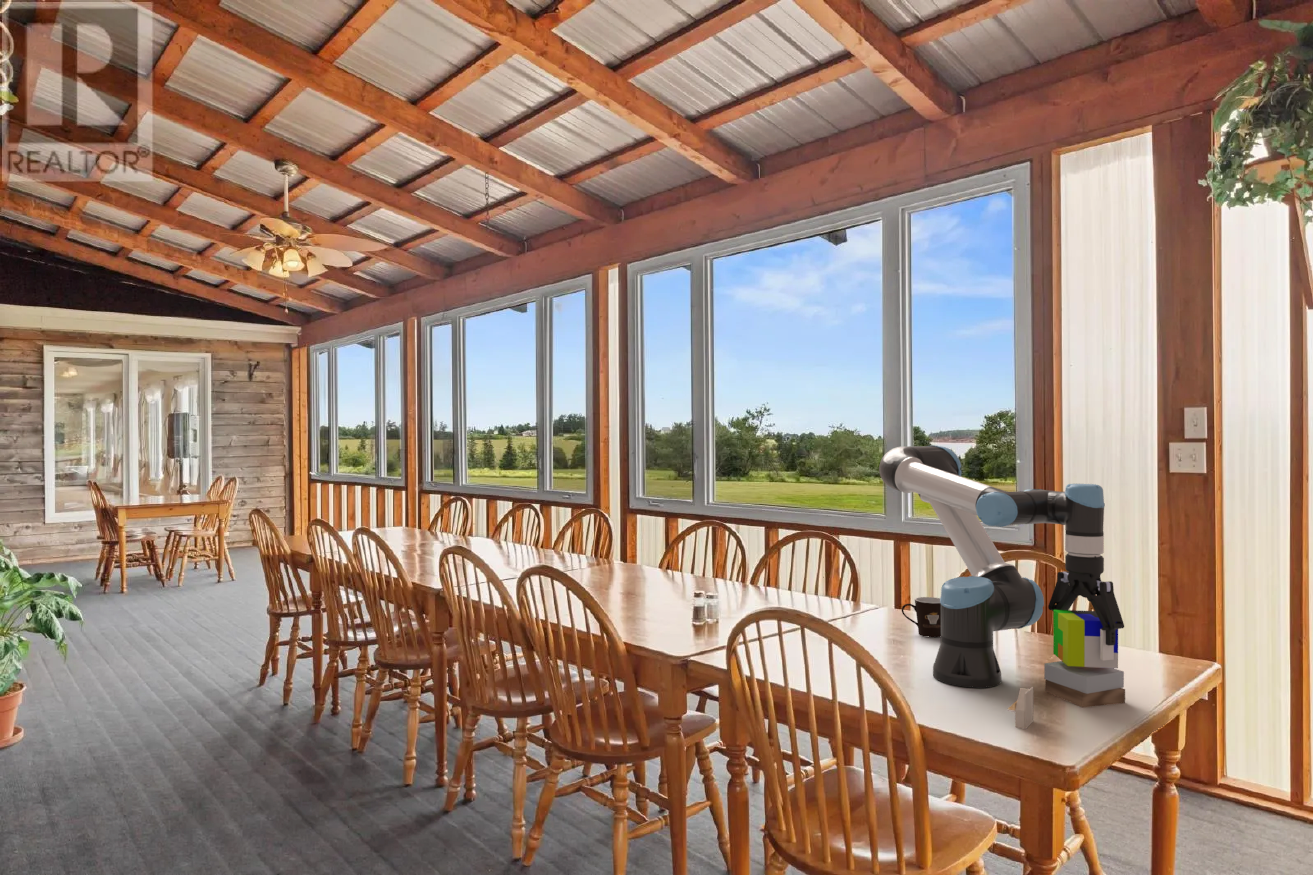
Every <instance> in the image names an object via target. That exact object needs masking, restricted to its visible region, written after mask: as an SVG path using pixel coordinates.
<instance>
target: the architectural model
mask: <svg viewBox="0 0 1313 875" xmlns="http://www.w3.org/2000/svg"><path fill="white" fill-rule="evenodd" d="M1007 712H1011V713H1014V714H1015V716H1014V717H1015V718H1014V719H1015V721H1014V724H1015V726H1014V727H1015V728H1017V729H1022V730H1026V729H1027V728H1028V727H1029V726H1030V725H1031V724H1032V723H1033V722H1034V687H1033V686H1031V687H1030V688H1025V687H1020V688H1019V692H1018V696H1017V700H1016V701H1015V702H1013V703H1012V704H1010V706H1009V707H1008V708H1007Z"/></svg>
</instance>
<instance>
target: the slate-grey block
mask: <svg viewBox="0 0 1313 875" xmlns="http://www.w3.org/2000/svg"><path fill="white" fill-rule="evenodd" d="M1043 667H1044V672H1043V673H1044V676H1043V677H1044V680H1049V681H1051V682H1054V683H1057V684H1060V685H1063V686H1066V687H1069V688H1072V689H1075V690H1077V691H1080V692H1083V693H1086V694H1088V693H1094V692H1100V691H1106V690H1112V689H1118V688H1123V689H1125V688H1124V687H1125V684H1124V683H1125V678H1124V676H1125V675H1124V674H1125V672H1124V671H1123V670H1120V669H1118V668H1098V667H1075V666H1067V665H1066V664H1065V663H1064V662H1062V661H1061V660H1060V661H1054V662H1053V661H1051V662H1044V666H1043Z"/></svg>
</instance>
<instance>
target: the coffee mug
mask: <svg viewBox="0 0 1313 875" xmlns="http://www.w3.org/2000/svg"><path fill="white" fill-rule="evenodd" d="M908 606H909V607H912V609H914V611H915V612H916V621H915V620H913V619H911V618H910V617H909V616H907V615H906V613H905V612H904V610H905V608H906V607H908ZM901 613H902V615H903V617H905V618H906V619H907V620H908V621H910V622H912V623H913V624H915V625H916V627H917V628H918V629H917V630H918V635H919V636H922V637H924V636H929V637H928V638H941V637H940V636H941V605H940V597H934V596H933V597H932V596H920V597H919V596H918V597H915V598H914V604H913V603H912V604H911V603H905V604H903V605H902V607H901Z"/></svg>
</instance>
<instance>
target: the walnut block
mask: <svg viewBox="0 0 1313 875" xmlns="http://www.w3.org/2000/svg"><path fill="white" fill-rule="evenodd" d="M1044 680H1045V684H1044V686H1045V688H1044V690H1045V692H1046V693H1048V694H1051V695H1053V696H1055V697H1057V698H1059V699H1062V700H1064V701H1066V702H1069V703H1071V704H1073V705H1076V706H1078V707H1080V708H1090V707H1091V708H1092V707H1100V706H1109V705H1119V704H1125V703H1126V689H1125V688H1118V689H1112V690H1106V691H1100V692H1094V693H1088V694H1086V693H1083V692H1080V691H1077V690H1075V689H1072V688H1069V687H1066V686H1063V685H1060V684H1057V683H1054V682H1051V681H1049V680H1046V679H1044Z"/></svg>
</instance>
